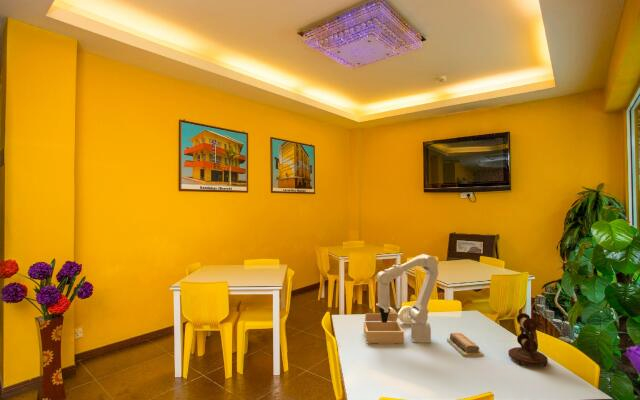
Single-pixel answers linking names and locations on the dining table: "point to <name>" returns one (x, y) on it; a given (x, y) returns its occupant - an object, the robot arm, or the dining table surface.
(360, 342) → the dining table surface
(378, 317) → the carton flap
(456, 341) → the packaged product
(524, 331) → the brown figurine statuette
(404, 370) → the dining table surface
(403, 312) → the letter
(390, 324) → the carton
